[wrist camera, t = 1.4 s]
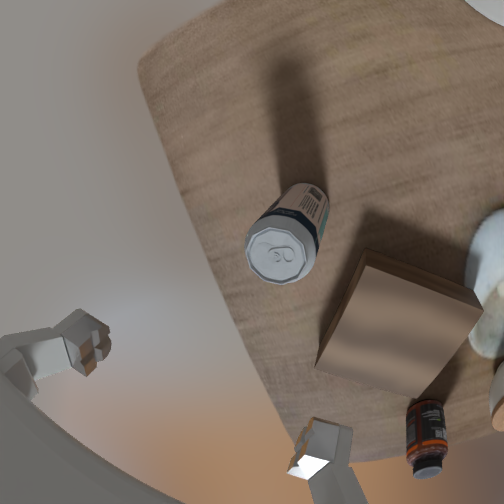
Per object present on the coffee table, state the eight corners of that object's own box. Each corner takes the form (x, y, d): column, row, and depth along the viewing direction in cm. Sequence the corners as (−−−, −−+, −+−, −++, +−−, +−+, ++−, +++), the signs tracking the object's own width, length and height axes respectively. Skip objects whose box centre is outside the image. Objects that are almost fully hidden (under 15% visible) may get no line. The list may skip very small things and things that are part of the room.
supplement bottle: (405, 423, 37) (403, 484, 27) (406, 401, 35) (406, 468, 26) (441, 417, 35) (445, 478, 25) (445, 394, 33) (452, 460, 23)
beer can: (277, 185, 29) (231, 225, 19) (325, 178, 28) (306, 215, 17) (286, 231, 31) (249, 292, 21) (333, 226, 29) (318, 288, 19)
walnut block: (365, 247, 29) (366, 265, 26) (473, 290, 27) (484, 310, 23) (319, 346, 36) (314, 368, 32) (414, 376, 33) (416, 398, 30)
